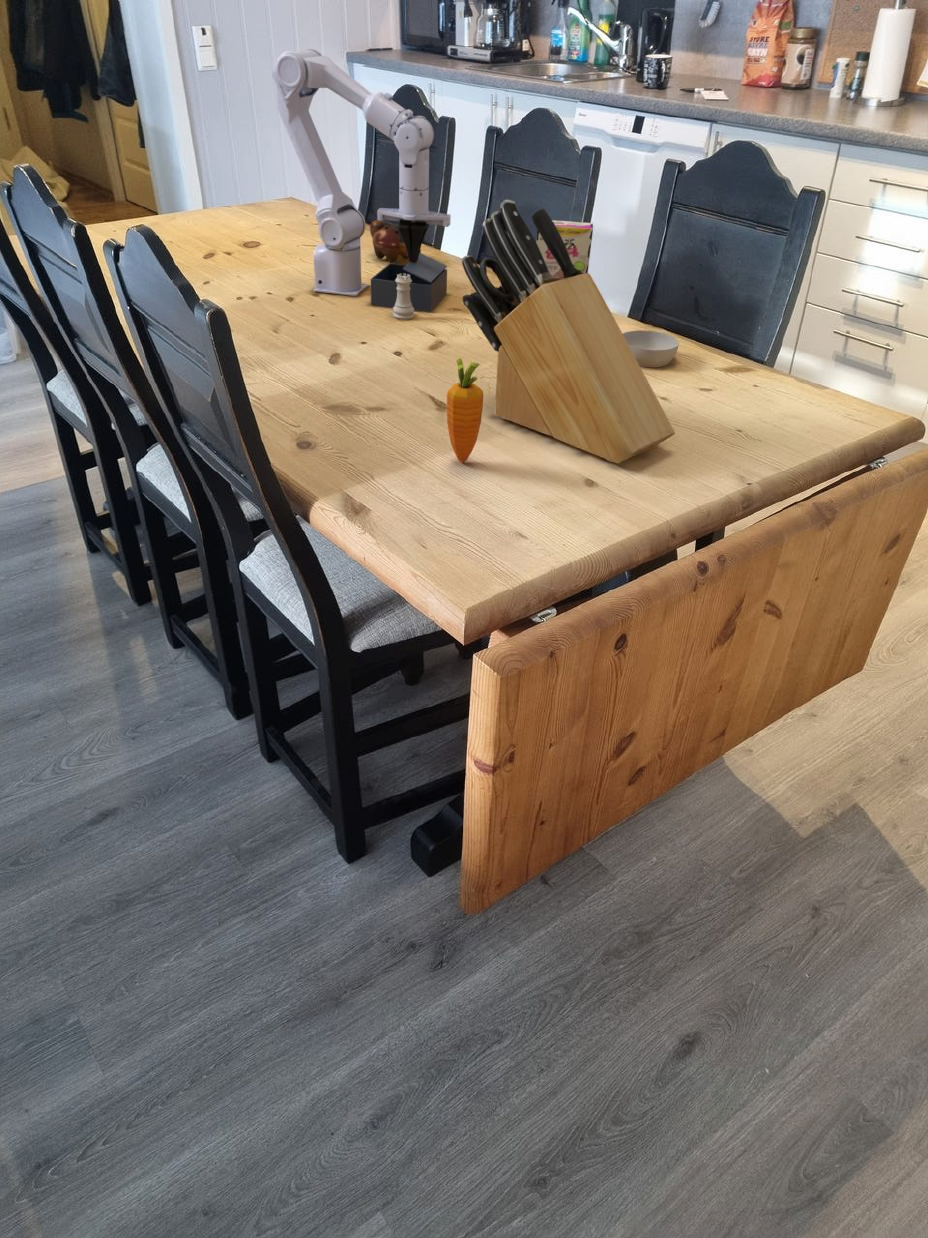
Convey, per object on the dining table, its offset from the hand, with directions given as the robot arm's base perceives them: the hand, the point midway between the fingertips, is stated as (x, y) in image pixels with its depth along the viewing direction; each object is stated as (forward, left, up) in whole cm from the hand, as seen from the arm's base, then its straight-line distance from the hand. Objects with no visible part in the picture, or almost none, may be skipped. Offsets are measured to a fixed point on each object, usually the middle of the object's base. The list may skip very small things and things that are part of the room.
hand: (413, 260), depth 188 cm
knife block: (+39, -53, -8) cm, 67 cm away
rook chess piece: (+1, -11, -8) cm, 14 cm away
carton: (-1, 0, -8) cm, 8 cm away
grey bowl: (+46, -18, -8) cm, 50 cm away
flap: (+2, 0, -1) cm, 3 cm away
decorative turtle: (-13, +29, -4) cm, 32 cm away
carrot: (+28, -71, -8) cm, 77 cm away
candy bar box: (+29, +7, -8) cm, 31 cm away
